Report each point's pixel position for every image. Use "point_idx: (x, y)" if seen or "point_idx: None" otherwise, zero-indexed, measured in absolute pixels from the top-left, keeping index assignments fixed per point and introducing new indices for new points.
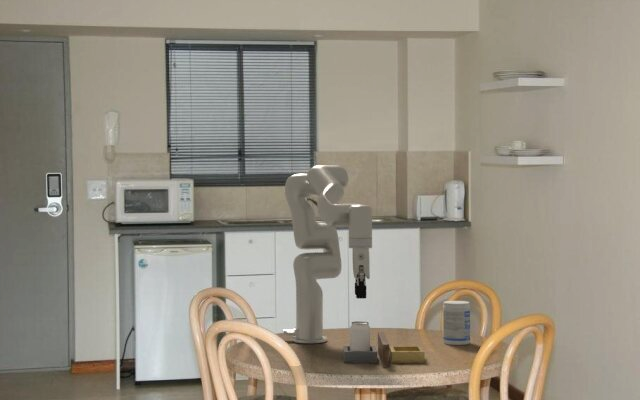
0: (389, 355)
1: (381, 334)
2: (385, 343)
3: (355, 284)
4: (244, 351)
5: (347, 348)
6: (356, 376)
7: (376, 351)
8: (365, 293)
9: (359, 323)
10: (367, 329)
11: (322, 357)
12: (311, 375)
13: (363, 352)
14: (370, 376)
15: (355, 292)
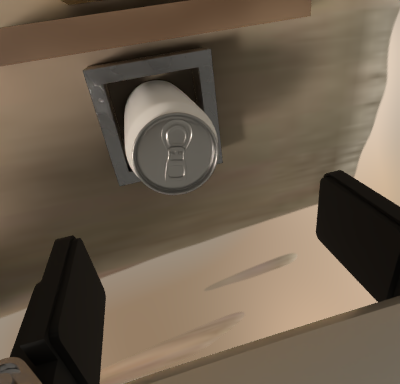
0: (85, 1)
1: (35, 44)
2: (285, 3)
3: (99, 379)
4: (116, 368)
5: None
6: (380, 89)
7: (204, 52)
8: (364, 192)
9: (170, 158)
10: (199, 108)
11: (145, 220)
12: None
13: (215, 101)
14: (387, 50)
15: (103, 306)
